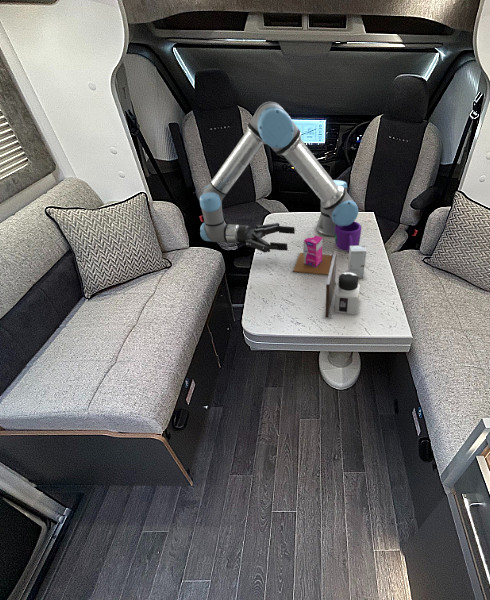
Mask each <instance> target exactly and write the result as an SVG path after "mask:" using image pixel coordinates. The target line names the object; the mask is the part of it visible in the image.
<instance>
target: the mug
mask: <svg viewBox="0 0 490 600" xmlns="http://www.w3.org/2000/svg"><path fill="white" fill-rule="evenodd" d="M361 235H362V225H361V224H360V223H359V222H358V221H356V220H355V221H354V222H353V223H351V224H350V225H348V226H338V225H335V236H334V243H335V244H334V245H335V247H336V248H337V249H338V250H341V251H344V252H347V254H349V250H350V246H360V242H361Z"/></svg>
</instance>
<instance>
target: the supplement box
mask: <svg viewBox="0 0 490 600" xmlns="http://www.w3.org/2000/svg"><path fill="white" fill-rule="evenodd" d="M302 242H303V253H304V264H306V265H309V266H313V267H315V268H316V267H317V266H318V265H319V264H320V263H321V262H322V255H323V237H322V236H319V235H316V234H312V233H310V234H308V236H307V237H305V238H304V239H303V241H302Z"/></svg>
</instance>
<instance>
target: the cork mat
mask: <svg viewBox="0 0 490 600" xmlns="http://www.w3.org/2000/svg"><path fill="white" fill-rule="evenodd" d="M332 258H333V255H331V254H322V262H321V263H320V264H319V265H318V266H317V267H316V268H315V267H313V266H309V265H306V264H304V252H299V255H298V257H297V260H296V263H295V266H294V268H293V271H292V272H293V273H299V274H300V273H302V274H311V275H321V276H322V275H323V276H328V275H329V271H330V266H331V262H332Z"/></svg>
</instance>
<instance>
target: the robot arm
mask: <svg viewBox="0 0 490 600" xmlns="http://www.w3.org/2000/svg"><path fill="white" fill-rule="evenodd" d="M301 137H302V131H301V130H300V129H299V127H298V126H297V125H296V123H295V121H293V120H292V117H291V116H290V115H289V113H288V112H287V111H286V110H285V109H284V108H283V107H282V105H280V104H279V103H278V102H275V101H266V102H263V103H262V104H261V105H259V106H258V108H257V109H256V111H255V112H254V115H253V116H252V118H251V119H250V121H248V123H247V125H246V132H245V133H244V134H243V136H242V137H241V138H240V139H239V141H238V142H237V144H236V146H234V148H233V150H232V151H231V153H230V154H229V155H228V157H227V158H226V160H225V161H224V163H223V164H222V165H221V166H220V168H219V170H218V171H217V173H216V174H215V175H214V177H213V178H212V179H211V181H210V183H208V184H207V185H205V186H204V188H203V190H202V194H201V195H200V196H199V206H200V208H201V212H202V217H203V219H204V220H203V221H204V222H203V223H202V224H201V225H200V229H199V231H200V232H199V234H200V237H201V239H202V240H203V241H205V242H212V243H226V244H233V245H234V244H235V245H236V244H239V245H246V247H248V248H253V249H254V250H258V251H259V252H263V253H264V254H266V253H270V252H271V250H272V251H284V252H285V251H288V243H285V242H271V241H270V243H269V242H268V241H266V240H265V239H263V238H265V237H266V236H267V235H271V234H275V233H279V234H290V235H291V234H292V235H295V234H296V232H295V231H296V229H295V226H287V225H286V226H283V225H280V223H279V222H273V223H267V224H255V227H254V228H252V227H250V226H249V225H243V224H230V223H225V219H224V213H223V200H224V198H225V197H226V196H227V194H228V193H229V192H230V190H231V189H232V187H233V186H234V185H235V184H236V182H237V181H238V179H239V178H240V177H241V175H242V174H243V173H244V172H245V170H246V168H248V167H249V165H250V163H251V162H252V160H253V159H254V158H255V156H256V155H257V154H258V153H259V151H260V150H261V148H262V147H263V146H264V145H267V146H269V147H270V148H271V149H272V151H273V152H274V153H275V154H276V155H277V156H283V157H284V158H285V159H286V160H287V162H288V163H289V164H290V165H291V167H292V168H293V169H294V170H295V171H296V172H297V174H298V175H299V177H301V178H302V180H303V181H304V182H305V183H306V184H307V186H309V188H310V189H311V190H312V191H313V193H314V194H315V195H316V196H317V197H318V198H319V199H320V214H319V218H318V220H317V223H316V231H317V232H318V233H319V234H320V235H322V236H326V237H335V225H338V226H348V225H350V224H351V223H353V222H354V221H355V222H356V220H357V218H358V215H359V207H358V204H357V202H356V201H354V199H353V198H352V197H351V196H350V194H349V193H348V183H347V182H346V181H344V180H339V179H337V180H336V179H332V177H331V176H330V174H329V173H328V172H327V171H326V170H325V168H324V167H323V166H322V164H321V163H320V161H319V160H318V159H317V158H316V156H315V155H314V154H313V152H312V151H311V150H310V149H309V148H308V146H307V145H306V143H305V142H304V141H303V140H302V138H301Z"/></svg>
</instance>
